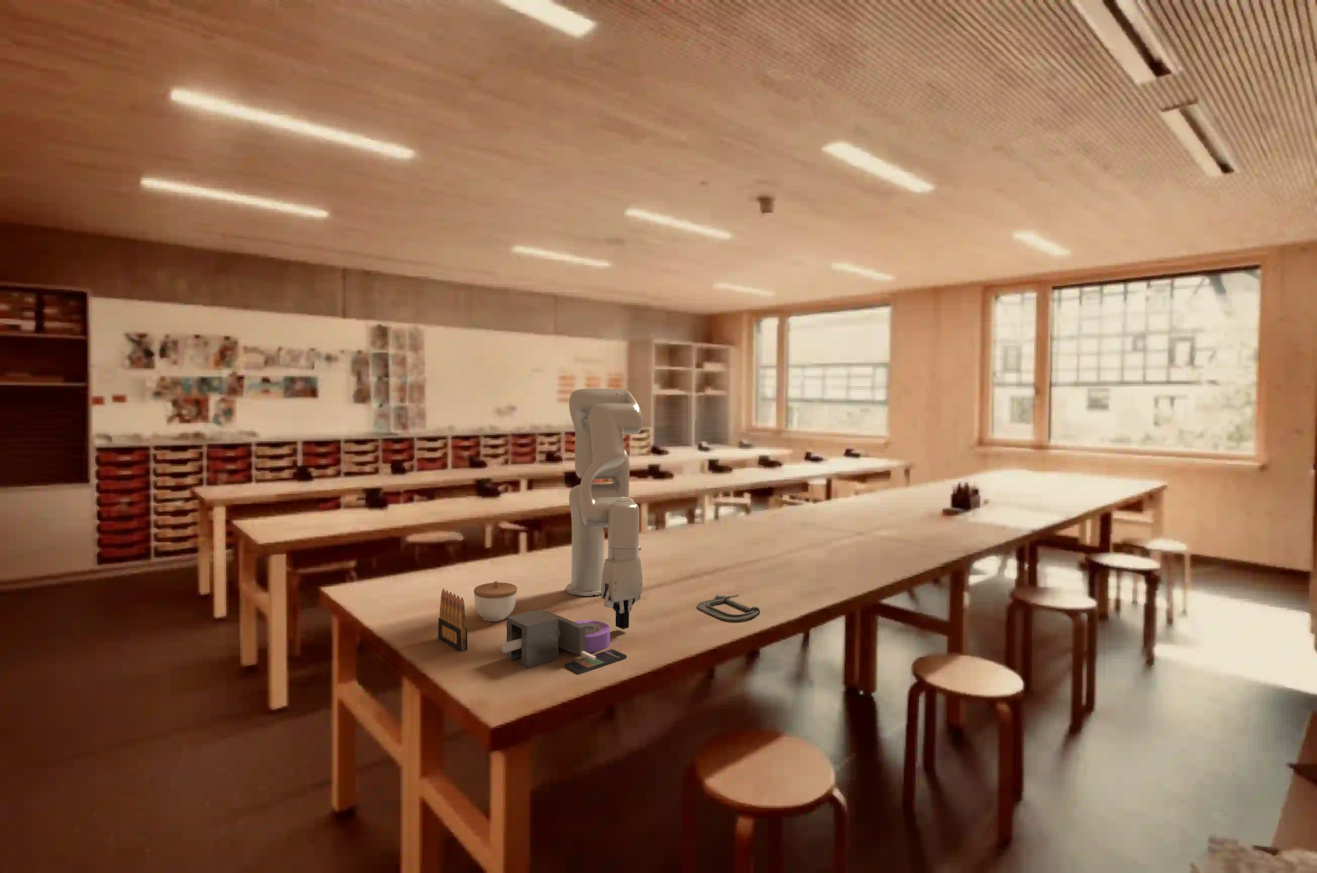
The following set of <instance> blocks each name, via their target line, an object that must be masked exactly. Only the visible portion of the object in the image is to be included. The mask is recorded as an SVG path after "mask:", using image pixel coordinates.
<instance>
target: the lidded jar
mask: <svg viewBox="0 0 1317 873" xmlns="http://www.w3.org/2000/svg"><path fill="white" fill-rule="evenodd" d="M517 591H518V587H517V586H516V585H515V584H512V583H509V582H498V581H496V580H495V581H493V582H488V583H483V584H479V585H477V586H475V588H474V589H473V594H474V595H473V597H474V606H475V609H476V611H477V613H478V615H479V616H480V617H482V619H483V620H484V621H486V620H488V621H487V622H491V621H495V622H499V621H498V620H502V621H504V620H503V619H505V618H507V617H509V616H511V614H512V613H513V611H514V609H515V606H516V603H517ZM505 620H506V619H505Z"/></svg>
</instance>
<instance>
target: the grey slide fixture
mask: <svg viewBox="0 0 1317 873" xmlns="http://www.w3.org/2000/svg"><path fill="white" fill-rule="evenodd" d="M540 610H541V609H535V610H534V609H533V610H530V611H526V612H521V613H518V614H514V615H509V616H508V617H507V619H506V642H510V641H513V640H517V639H521V638H522V648H520V649H517V650H513V651H510V652H506V653H505V655H506V658H507V659H508V660H511V661H513V660H516V659H520V658H521V667H523V668H524V669H530V668H533V667H536V666H537V667H538V666H539V665H543V664H546V663H550V662H552V661H555V660H558V659H559V646H558V625H559V618H557V617H554V616H552V615H550V614H547V613H545V612H543V611H540ZM593 655H594V656H596V659H595V660H591V659H589V658H587V657H585V656H584V657H582V658H578V659H575V660H573V661H569V662H567V663H565V664H564V667H565V668H567V669H569V670H571V671H573V672H575V673H576V674H578V675H580V674H583V673H586V672H589V671H592V670H595V669H598V668H600V667H601V668H602V667H604V666H607V665H610V664H613V663H616V662H619V661H622V660H625V659H627V657H628V656H627V654H624V653H622V652H620V651H617V650H615V649H612V648H611V649H608V650H605V651H602V652H601V651H600V652H598V653H595V654H593Z"/></svg>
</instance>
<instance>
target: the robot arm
mask: <svg viewBox="0 0 1317 873" xmlns="http://www.w3.org/2000/svg"><path fill="white" fill-rule="evenodd" d="M568 407H569V414H570V418H571V421H572V424H573V427H574V432H575V433H574V436H575V438H574V469H575V474H576V476H577V477H578V478H580V479H581V480H580V484H577V485H575V486H574V487H573V486H572V488H571V489H570V491H569V495H568V502H569V503H568V504H569V509H570V518H571V574H570V576H571V577H570V578H571V582H570V583H569V584H567V585H566V587H565V591H566V592H567V593H568V594H570V595H574V596H580V597H592V596H593V595H595V596H599V595H600V594H601V595H600V598H601V599H603V600H604V602H603V606H604V607H606V608H609V609H613V611H614V612H615V620H614V621H615V627H616V628H619V629H620V630H626V629H628V628H629V626H630V613H631V611H632V610H633V609H632V608H633V606H634V604H635V603H637V602H638V601H639V600H640V599H641V595H642V593H643V587H644V586H643V580H644V579H643V568H642V561H641V558H640V557H639V556H640V554H639V553H640V551H641V550H642V547H641V545H640V506H639V505H638V504H637V503H636V502H635V500H634V499H633V498H631V497H630V458H629V454H628V452H627V450H626V449H625V443H624V436H623V435H638V434H640V432H641V431H642V429H643V426H644V425H643V424H644V417H643V413H642V409H641V408H640V405H639V404H638V401H637V400H636V399H635V397H634V396H633V395H632V393H631V392H630V391H629V390H626V389H623V388H621V389H620V388H593V387H592V388H590V387H589V388H579V389H576V390H574V391H572V392H571V393H570V395H569V400H568ZM594 480H611V481H612V482H608V483H607V482H606V483H605V482H602V483H599V482H598V483H593V481H594ZM604 528H607V558H605V530H604Z"/></svg>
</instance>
